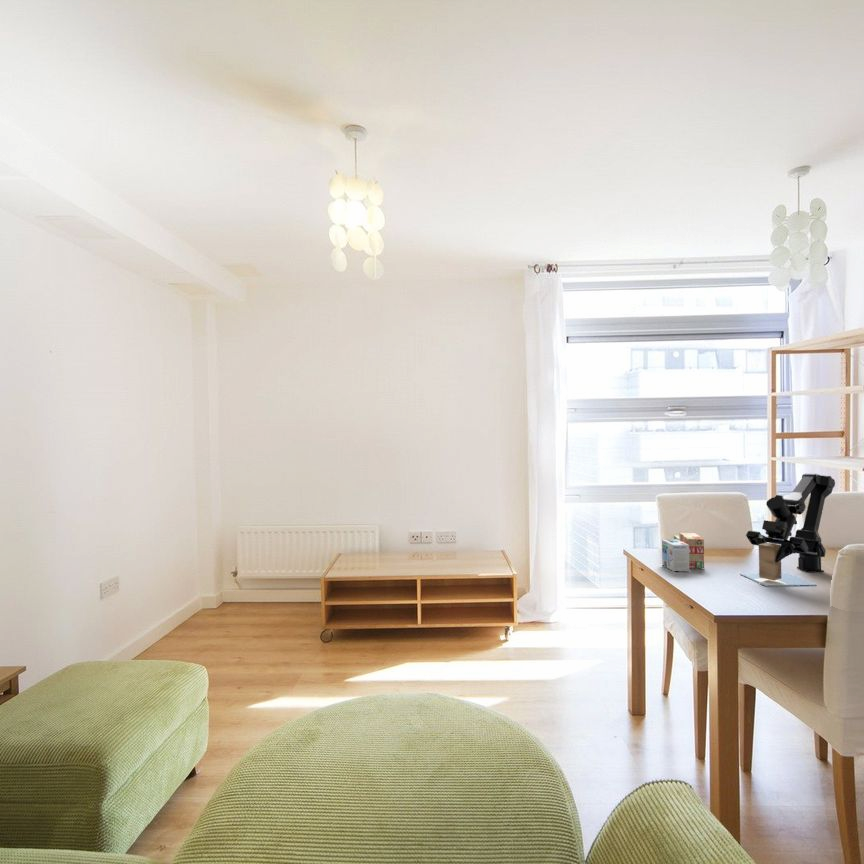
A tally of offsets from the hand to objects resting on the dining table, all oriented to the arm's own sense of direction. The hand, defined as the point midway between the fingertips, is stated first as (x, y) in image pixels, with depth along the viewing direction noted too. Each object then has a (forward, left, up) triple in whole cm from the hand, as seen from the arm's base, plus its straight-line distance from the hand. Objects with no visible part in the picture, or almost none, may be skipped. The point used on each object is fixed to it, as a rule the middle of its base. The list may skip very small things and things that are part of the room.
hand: (768, 560), depth 183 cm
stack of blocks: (+14, -32, -9) cm, 36 cm away
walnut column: (-1, -1, -7) cm, 7 cm away
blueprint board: (-6, -4, -8) cm, 11 cm away
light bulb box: (+23, -22, -9) cm, 33 cm away
